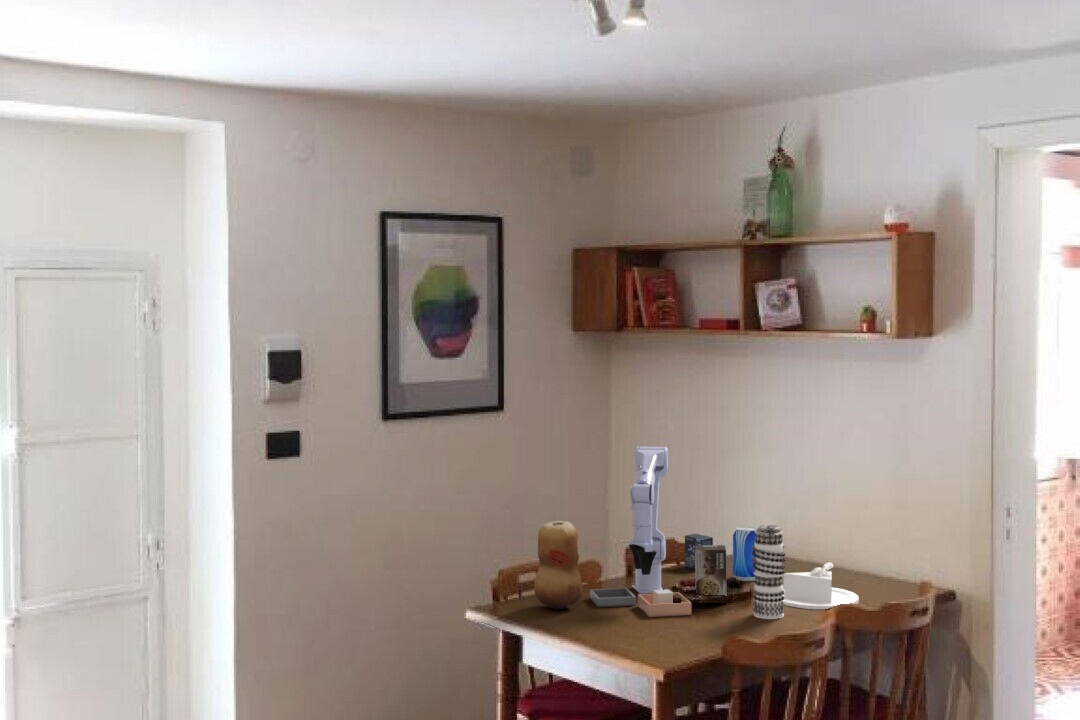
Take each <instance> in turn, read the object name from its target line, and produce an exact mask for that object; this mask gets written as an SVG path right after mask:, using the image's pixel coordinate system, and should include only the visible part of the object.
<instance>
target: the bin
mask: <svg viewBox="0 0 1080 720" xmlns="http://www.w3.org/2000/svg"><path fill="white" fill-rule="evenodd" d="M677 594H678V595H679V596H680V597H681V600H682V601H681V603H662V604H653V593H644V594H640V593H638V594H637V605H638V606H637V607H638V608H639V609H641V611H642V612H643V613H644V614H645V615H646V616H648V617H649V618H655V617H656V618H657V617H658V618H659V617H661V618H662V617H677V616H678V617H679V616H692V602H691V601H690V600H689V599H688V598H687V597H686V596H684V595H683V594H682V593H681V592H678V591H675V592H673V595H677Z"/></svg>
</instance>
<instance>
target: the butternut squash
mask: <svg viewBox="0 0 1080 720" xmlns="http://www.w3.org/2000/svg"><path fill="white" fill-rule="evenodd" d="M578 535H579V534H578V531H577V529H576V527H575V525H573V523H571V522H570V521H567V520H554V521H549V522H545V523H544V524H543V525H542V526H541V527H540V529H539V531H538V537H537V555H538V561H539V567H538V571H537V574H536V576H535V579H534V583H533V589H534V590H533V591H534V594H535V597H536V598H537V600H538V601H539V603H541V604H543V605H545V606H548V607H550V608H551V609H557V610H558V609H559V610H564V609H565V608H567V607H568V606H569V605H573V604H576V603H577V601H578V600H579V599H580V598H581V597H582V596H583V582H582V577H581V574H580V570H579V567H578V563H579V559H580V556H579V551H578V537H579V536H578Z"/></svg>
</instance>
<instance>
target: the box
mask: <svg viewBox="0 0 1080 720" xmlns="http://www.w3.org/2000/svg"><path fill="white" fill-rule="evenodd" d="M695 545H714V537H712V536H708V535H704V534H699V533H692V534H691V533H690V534H687V535H684V567H685V568H690V569H694V570H695Z"/></svg>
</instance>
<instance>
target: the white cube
mask: <svg viewBox="0 0 1080 720" xmlns="http://www.w3.org/2000/svg"><path fill="white" fill-rule="evenodd" d="M673 593H674V592H673V591H672V590H670V589H668V588H667V589H664V590H653V593H652V594H653V604H662V603H673Z"/></svg>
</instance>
